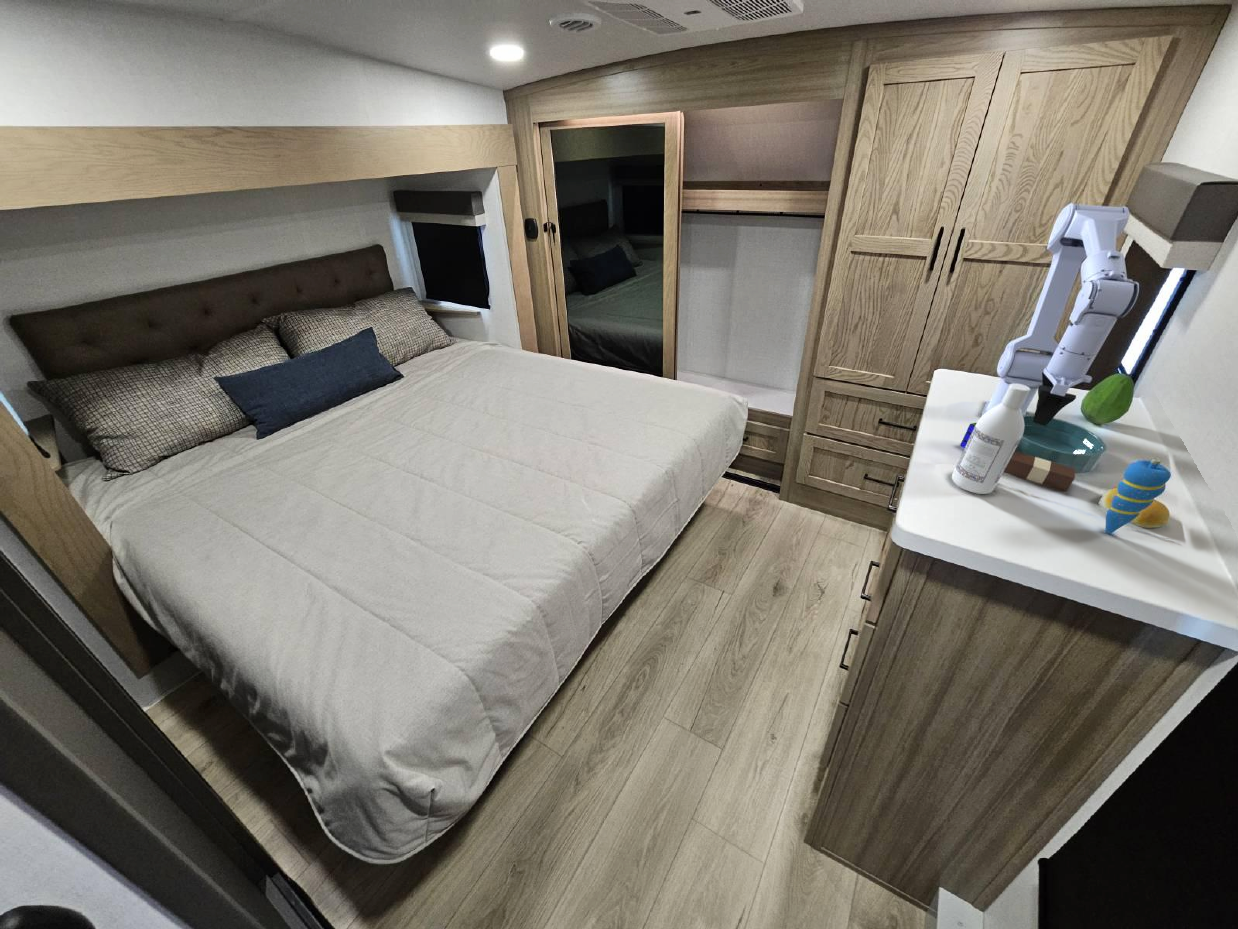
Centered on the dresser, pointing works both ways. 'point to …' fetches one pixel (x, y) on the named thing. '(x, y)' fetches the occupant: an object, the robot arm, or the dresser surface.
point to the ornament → (1136, 492)
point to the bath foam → (992, 443)
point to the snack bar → (1040, 471)
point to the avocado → (1108, 399)
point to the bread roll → (1148, 517)
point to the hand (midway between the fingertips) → (1040, 415)
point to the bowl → (1061, 444)
